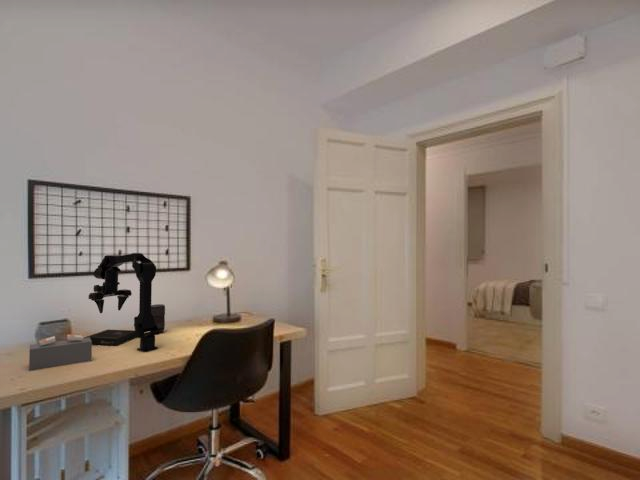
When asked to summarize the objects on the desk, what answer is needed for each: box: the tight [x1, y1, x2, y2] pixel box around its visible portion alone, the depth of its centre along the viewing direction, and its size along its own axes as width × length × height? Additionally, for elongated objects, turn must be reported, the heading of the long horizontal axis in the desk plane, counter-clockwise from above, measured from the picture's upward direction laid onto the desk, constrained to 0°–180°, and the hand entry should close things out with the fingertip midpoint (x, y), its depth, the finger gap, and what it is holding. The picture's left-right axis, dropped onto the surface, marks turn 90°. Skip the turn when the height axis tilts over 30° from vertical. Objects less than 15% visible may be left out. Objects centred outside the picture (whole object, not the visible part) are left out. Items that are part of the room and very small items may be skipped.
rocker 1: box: [38, 335, 57, 346], centre depth 143 cm, size 5×4×1 cm
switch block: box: [28, 337, 93, 372], centre depth 145 cm, size 20×8×8 cm, turn 128°
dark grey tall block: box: [149, 303, 166, 335], centre depth 196 cm, size 8×8×15 cm
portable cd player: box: [83, 329, 138, 347], centre depth 179 cm, size 16×17×4 cm
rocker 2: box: [66, 334, 84, 340], centre depth 148 cm, size 5×4×1 cm
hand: (110, 311), depth 178 cm, fingers open, 9 cm apart
